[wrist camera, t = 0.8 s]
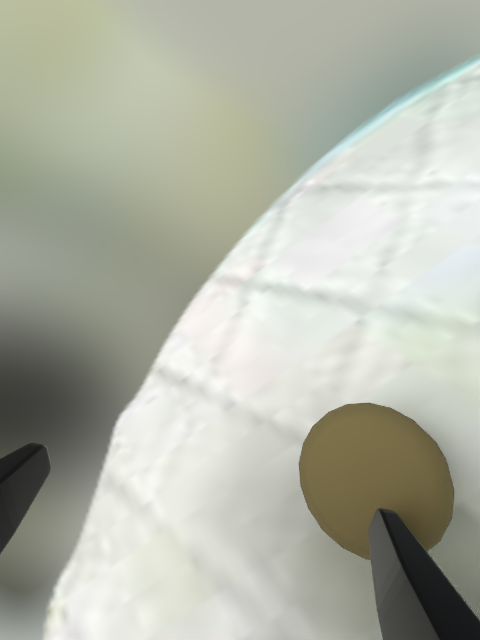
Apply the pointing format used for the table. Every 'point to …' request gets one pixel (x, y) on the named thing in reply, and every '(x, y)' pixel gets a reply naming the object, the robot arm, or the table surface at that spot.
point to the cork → (374, 475)
